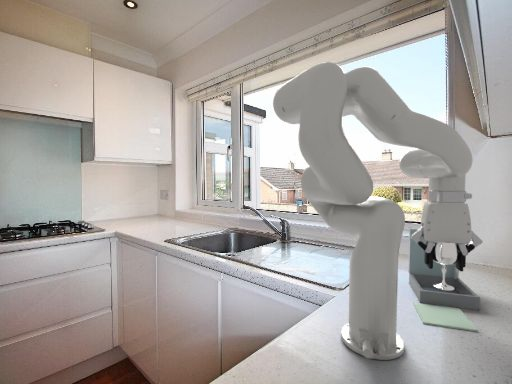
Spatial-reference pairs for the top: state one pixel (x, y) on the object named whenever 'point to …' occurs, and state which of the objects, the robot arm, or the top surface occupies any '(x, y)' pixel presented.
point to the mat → (443, 316)
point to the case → (437, 280)
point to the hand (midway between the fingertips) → (444, 267)
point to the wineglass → (445, 260)
